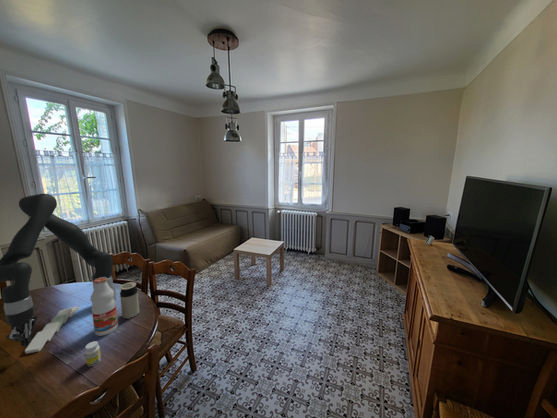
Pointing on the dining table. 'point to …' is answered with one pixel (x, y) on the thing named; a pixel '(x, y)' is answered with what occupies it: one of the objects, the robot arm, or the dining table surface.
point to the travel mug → (129, 300)
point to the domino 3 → (58, 320)
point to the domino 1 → (38, 341)
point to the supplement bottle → (92, 353)
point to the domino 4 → (51, 327)
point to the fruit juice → (103, 308)
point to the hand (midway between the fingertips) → (26, 344)
